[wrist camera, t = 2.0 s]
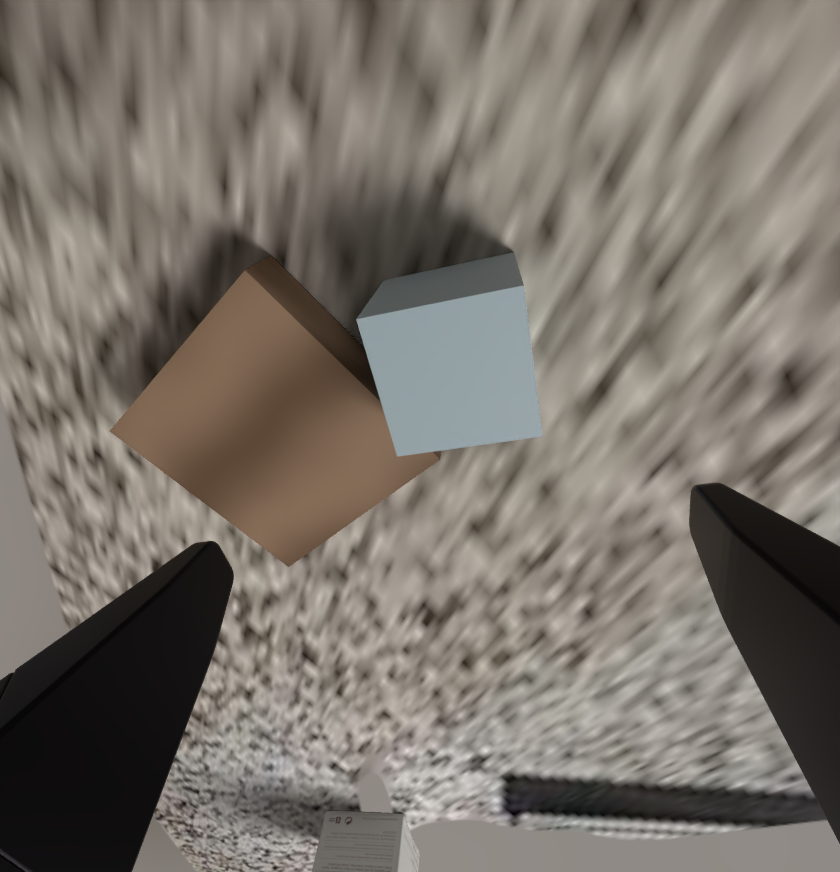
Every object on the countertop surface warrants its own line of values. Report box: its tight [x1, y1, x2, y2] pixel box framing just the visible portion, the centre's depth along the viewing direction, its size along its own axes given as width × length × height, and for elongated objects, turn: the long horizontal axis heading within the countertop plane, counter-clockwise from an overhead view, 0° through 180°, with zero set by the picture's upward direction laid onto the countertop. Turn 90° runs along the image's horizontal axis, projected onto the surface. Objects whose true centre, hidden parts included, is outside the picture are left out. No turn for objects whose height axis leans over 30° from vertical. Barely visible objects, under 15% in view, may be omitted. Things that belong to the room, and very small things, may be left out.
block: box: [356, 252, 543, 457], centre depth 18 cm, size 5×5×5 cm
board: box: [110, 256, 441, 567], centre depth 22 cm, size 10×10×2 cm
